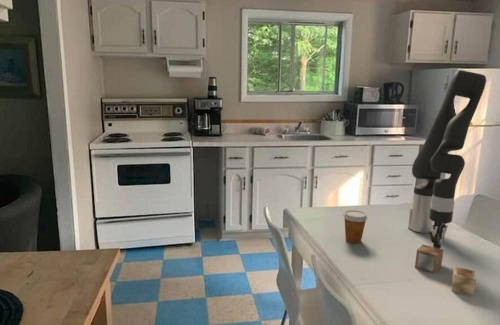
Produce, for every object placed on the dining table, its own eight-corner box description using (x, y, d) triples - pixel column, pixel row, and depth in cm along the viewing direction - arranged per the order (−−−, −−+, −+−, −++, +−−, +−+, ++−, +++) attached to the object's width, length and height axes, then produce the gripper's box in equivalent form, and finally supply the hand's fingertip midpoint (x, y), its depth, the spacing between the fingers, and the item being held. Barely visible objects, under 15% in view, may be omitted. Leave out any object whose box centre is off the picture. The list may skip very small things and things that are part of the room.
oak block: (451, 291, 119) (454, 273, 118) (451, 283, 125) (453, 265, 123) (473, 296, 117) (475, 278, 116) (472, 287, 122) (474, 270, 121)
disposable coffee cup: (366, 238, 160) (368, 211, 158) (363, 246, 152) (365, 218, 149) (344, 234, 164) (346, 208, 162) (339, 242, 155) (341, 214, 153)
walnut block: (421, 261, 140) (414, 267, 135) (423, 243, 139) (416, 249, 133) (441, 267, 135) (435, 274, 130) (443, 249, 134) (437, 255, 129)
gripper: (436, 201, 143) (431, 244, 147) (425, 209, 134) (419, 254, 137) (458, 206, 138) (452, 250, 142) (447, 214, 129) (441, 261, 132)
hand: (436, 252), depth 139 cm, fingers closed
